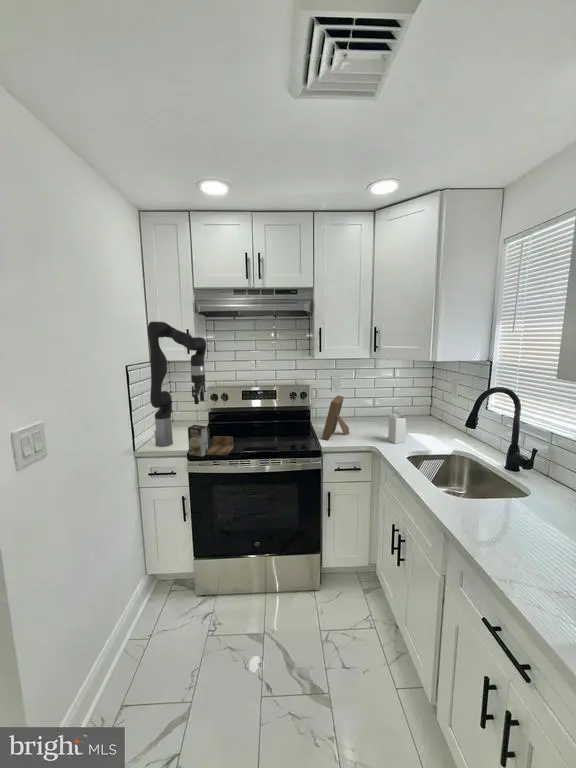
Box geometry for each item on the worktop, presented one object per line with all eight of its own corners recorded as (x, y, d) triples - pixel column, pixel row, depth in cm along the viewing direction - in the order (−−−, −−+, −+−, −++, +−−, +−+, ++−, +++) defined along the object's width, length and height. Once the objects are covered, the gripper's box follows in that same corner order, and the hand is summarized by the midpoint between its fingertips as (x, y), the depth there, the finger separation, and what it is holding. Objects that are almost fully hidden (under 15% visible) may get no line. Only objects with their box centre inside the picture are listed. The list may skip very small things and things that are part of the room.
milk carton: (397, 439, 203) (398, 409, 200) (405, 442, 197) (406, 412, 194) (388, 440, 201) (388, 410, 198) (395, 444, 194) (396, 413, 192)
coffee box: (188, 455, 183) (186, 427, 181) (195, 451, 189) (193, 424, 187) (202, 456, 180) (200, 428, 178) (208, 452, 186) (207, 425, 184)
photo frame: (321, 439, 205) (322, 400, 201) (329, 430, 225) (329, 394, 222) (345, 442, 200) (346, 402, 197) (350, 432, 221) (351, 396, 217)
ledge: (206, 454, 183) (206, 442, 182) (213, 447, 195) (213, 436, 194) (227, 455, 182) (226, 443, 181) (233, 447, 194) (232, 436, 193)
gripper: (196, 372, 187) (197, 399, 189) (186, 375, 173) (187, 405, 175) (208, 372, 186) (210, 400, 189) (199, 375, 172) (201, 405, 175)
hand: (199, 402), depth 182 cm, fingers open, 8 cm apart
